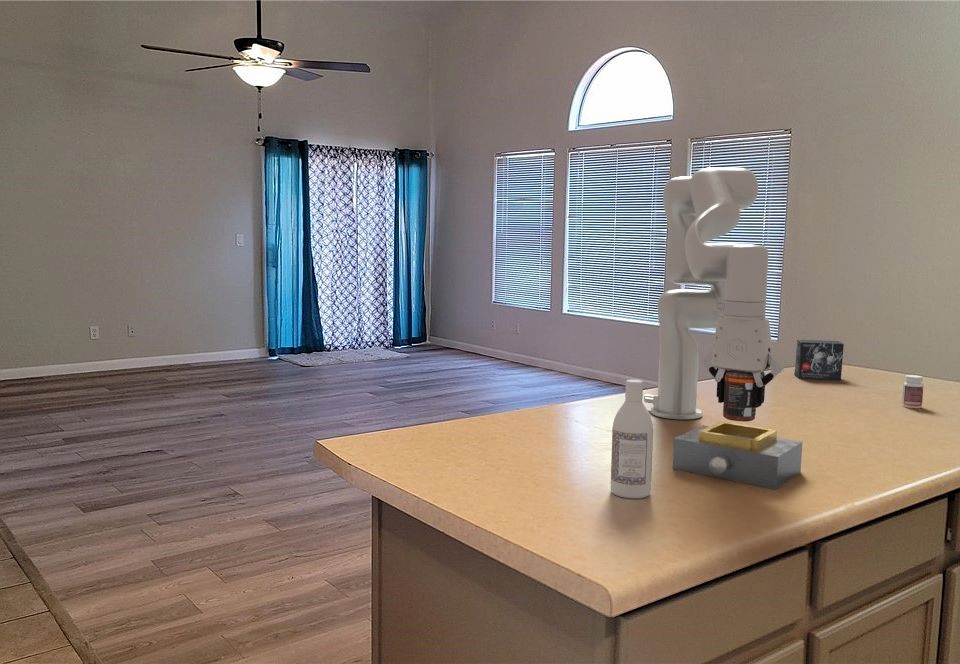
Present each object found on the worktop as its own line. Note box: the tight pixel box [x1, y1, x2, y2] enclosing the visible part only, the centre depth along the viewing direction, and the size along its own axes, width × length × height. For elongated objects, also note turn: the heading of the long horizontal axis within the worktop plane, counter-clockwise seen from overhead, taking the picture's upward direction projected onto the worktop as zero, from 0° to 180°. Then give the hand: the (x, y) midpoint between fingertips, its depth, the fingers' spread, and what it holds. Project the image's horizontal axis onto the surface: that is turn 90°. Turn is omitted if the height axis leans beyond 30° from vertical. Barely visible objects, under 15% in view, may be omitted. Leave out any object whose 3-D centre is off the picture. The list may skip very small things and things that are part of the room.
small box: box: [793, 338, 845, 381], centre depth 261 cm, size 13×7×12 cm, turn 80°
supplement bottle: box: [722, 370, 757, 422], centre depth 154 cm, size 6×6×11 cm
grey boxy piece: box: [671, 421, 803, 490], centre depth 155 cm, size 20×17×8 cm
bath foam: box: [610, 379, 654, 500], centre depth 140 cm, size 7×7×20 cm
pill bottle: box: [901, 374, 924, 409], centre depth 217 cm, size 5×5×8 cm
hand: (739, 403), depth 155 cm, fingers closed on supplement bottle, 6 cm apart
